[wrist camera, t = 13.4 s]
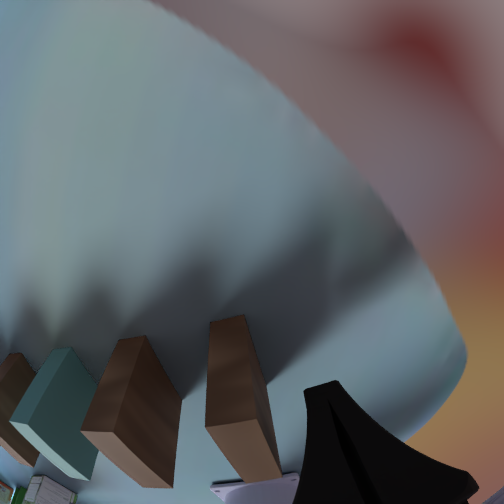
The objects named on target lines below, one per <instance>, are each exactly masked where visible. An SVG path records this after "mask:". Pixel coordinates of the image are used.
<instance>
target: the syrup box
mask: <svg viewBox="0 0 504 504" xmlns="http://www.w3.org/2000/svg"><path fill="white" fill-rule="evenodd" d="M76 500H77V494H75V493H74V492H72V491H70V490H68V489H67V488H65V487H63V486H61V485H60V484H58V483H56V482H55V481H53V480H51V479H50V478H48V477H47V476H45V475H40V476H32V478H31V480H30V483H29V485H28V488H27V491H26V494H25V497H24V499H23V502H22V504H75V503H76Z"/></svg>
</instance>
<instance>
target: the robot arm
mask: <svg viewBox="0 0 504 504" xmlns="http://www.w3.org/2000/svg"><path fill="white" fill-rule="evenodd" d="M303 392H304V397H305V403H306V408H307V437H306V446H305V454H304V461H303V466H302V471H301V475H300V478H299V475H298V473H290V474H285V475H282V476H283V477H282V478H277V479H272V480H266V481H260V482H254V483H247V484H246V483H245V482H236V483H227V484H215V485H211V486H210V490H211V491H212V492H214V493H215V494H216V495H217V496H218V497H219V498H220V499H222V500H223V501H224V502H225V504H469V503H468V501H467V499H469V498H470V497H471V496H472V495H473V494H475V493H476V492H477V491H478V489H479V486H478V484H477V483H476V481H475V480H474V479H473V477H472V476H471V475H470V474H469V473H468V472H467V471H464V470H460V469H457V468H454V467H451V466H448V465H446V464H443V463H441V462H439V461H436V460H434V459H432V458H430V457H428V456H426V455H424V454H422V453H420V452H418V451H416V450H414V449H413V448H411V447H409V446H408V445H406V444H405V443H403V442H402V441H400V440H399V439H397V438H396V437H394V436H393V435H392V434H390V433H389V432H388V431H387V430H385V429H384V428H383V427H382V426H380V425H379V424H378V423H377V422H376V421H375V420H373V419H372V418H371V417H370V416H369V415H368V414H367V413H366V412H365V411H364V410H363V409H362V408H361V407H360V406H359V405H358V404H357V403H356V402H355V401H354V400H353V399H352V398H351V396H350V395H349V394H348V393H347V392H346V391H345V389H344V388H343V387H342V385H341V384H340V383H339V381H337V380H334V381H331V382H328V383H324V384H321V385H317V386H314V387H311V388H307V389H305V390H304V391H303ZM482 504H504V487H502V488H501V489H500V490H499V491H498V492H496V493H495V494H494V495H493V496H491V497H490V498H489V499H487V500H486V501H485V502H483V503H482Z"/></svg>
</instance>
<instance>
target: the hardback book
mask: <svg viewBox="0 0 504 504" xmlns="http://www.w3.org/2000/svg"><path fill="white" fill-rule="evenodd" d="M26 491H27V489H25V488H24V487H22V486H21V487H20V489H19V488H16V490H15V493H14V496H13V499H12V502H11V504H22V502H23V499H24V497H25V494H26Z"/></svg>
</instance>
